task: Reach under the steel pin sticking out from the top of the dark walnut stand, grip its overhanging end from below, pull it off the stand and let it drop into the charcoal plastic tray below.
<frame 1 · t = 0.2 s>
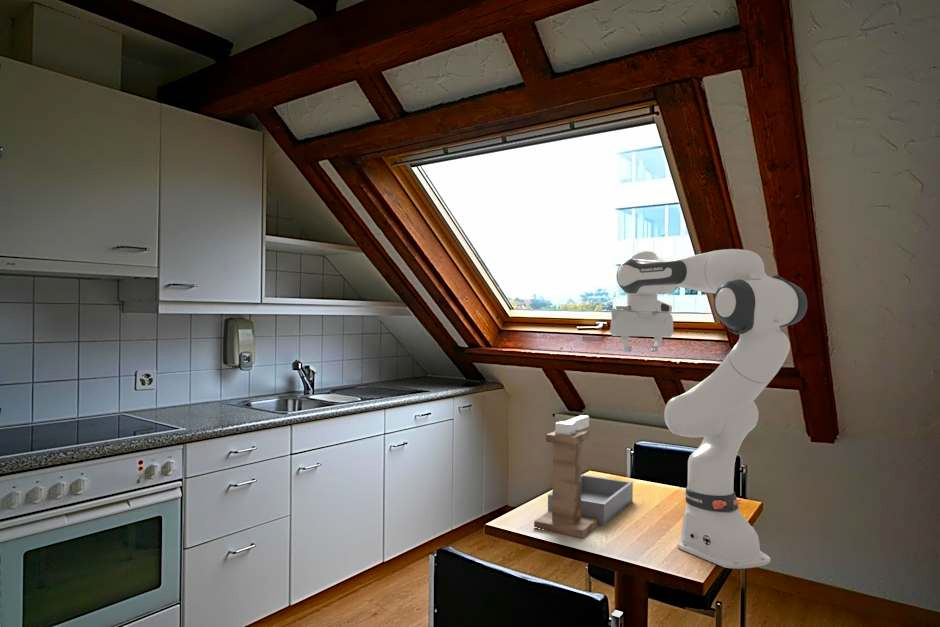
hand: (641, 351, 192), 48 cm above the table, tool pointing down, fingers open, 8 cm apart
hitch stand: (566, 526, 175), on the table
lynch pin: (575, 429, 180), point 26 cm above the table, touching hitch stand
parts tray: (591, 507, 193), on the table
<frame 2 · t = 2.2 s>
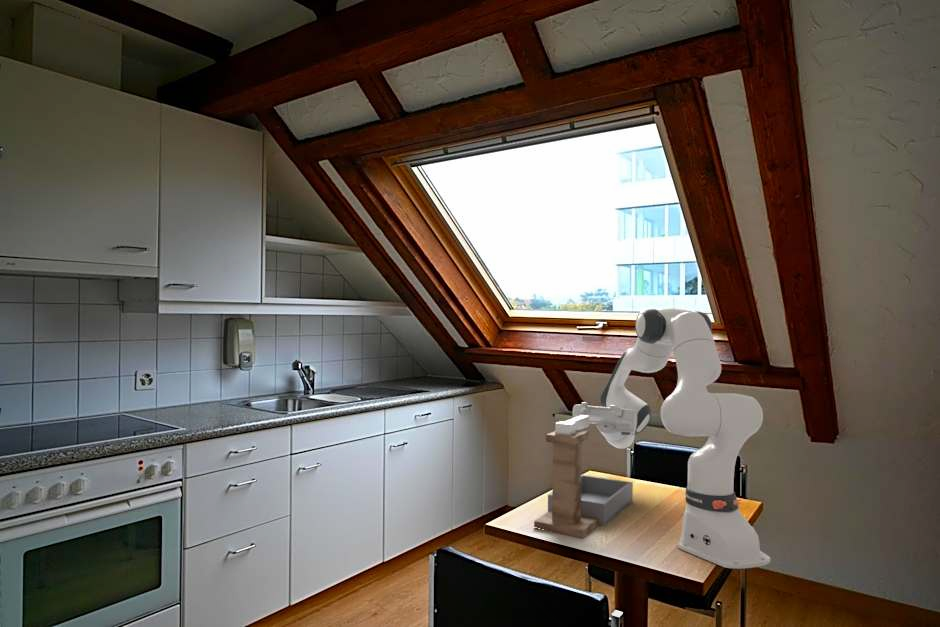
hand: (597, 405, 196), 30 cm above the table, tool pointing upward, fingers open, 8 cm apart
nothing on the table moved.
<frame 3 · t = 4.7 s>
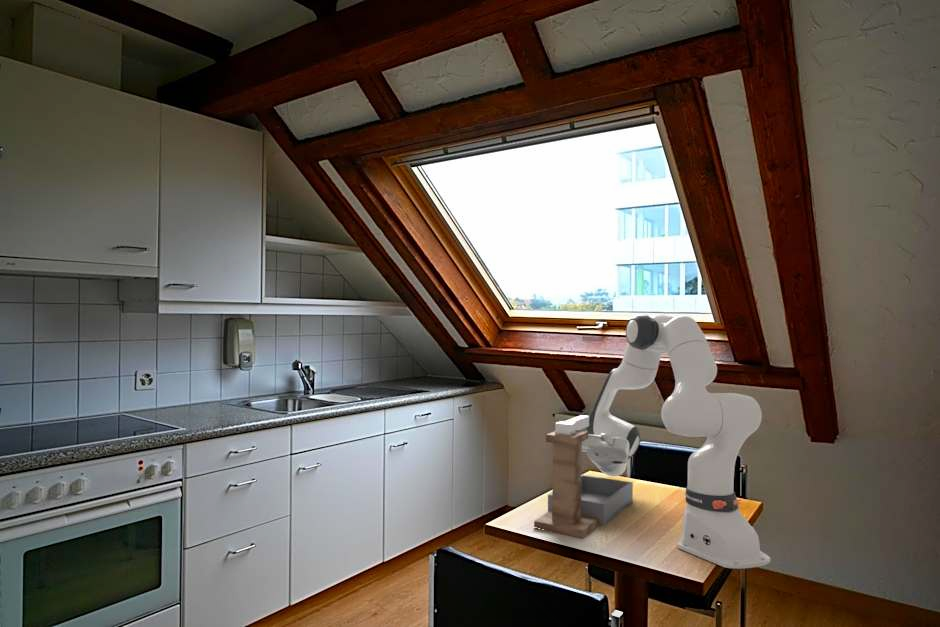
hand: (588, 434, 189), 23 cm above the table, tool pointing upward, fingers open, 8 cm apart
nothing on the table moved.
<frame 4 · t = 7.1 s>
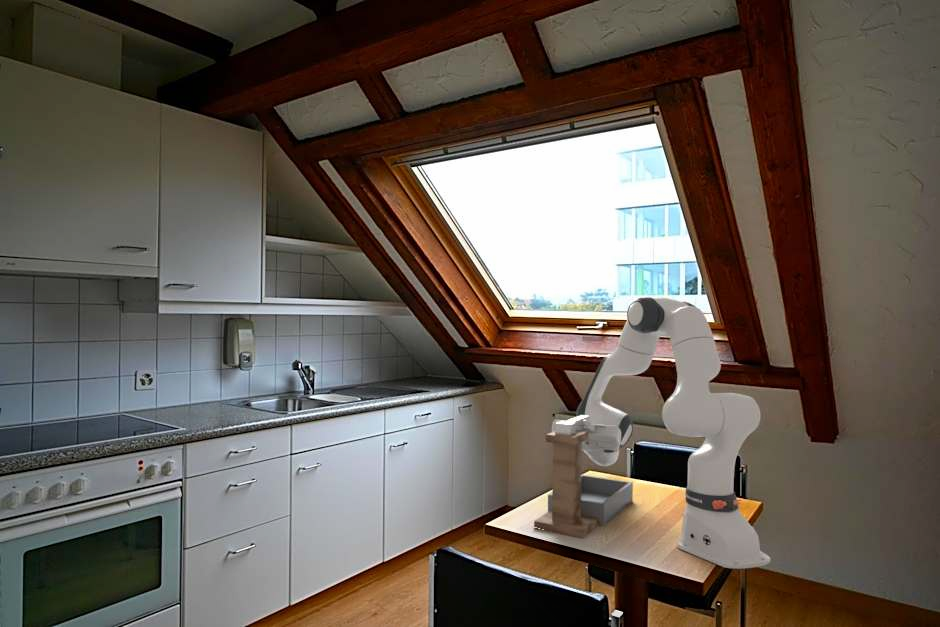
hand: (578, 421, 182), 28 cm above the table, tool pointing upward, fingers closed on lynch pin, 2 cm apart
lynch pin: (575, 429, 180), point 26 cm above the table, touching gripper, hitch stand
everything else where it was.
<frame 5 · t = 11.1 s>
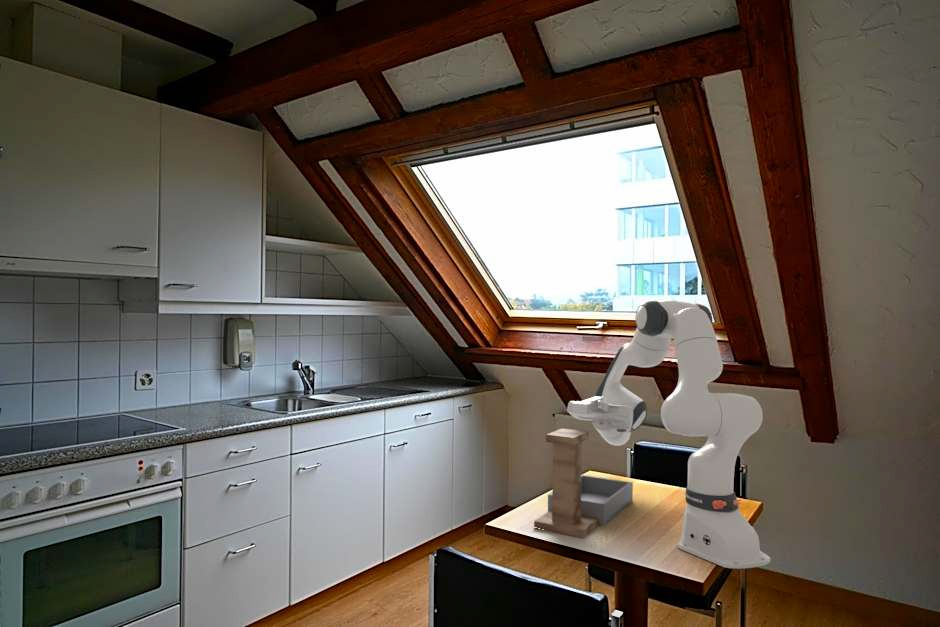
hand: (593, 402, 193), 32 cm above the table, tool pointing upward, fingers closed on lynch pin, 2 cm apart
lynch pin: (590, 409, 191), point 30 cm above the table, touching gripper
everything else where it was.
when the fingers open (19 cm above the table, at t = 14.9 s): lynch pin drops 16 cm, resting on parts tray.
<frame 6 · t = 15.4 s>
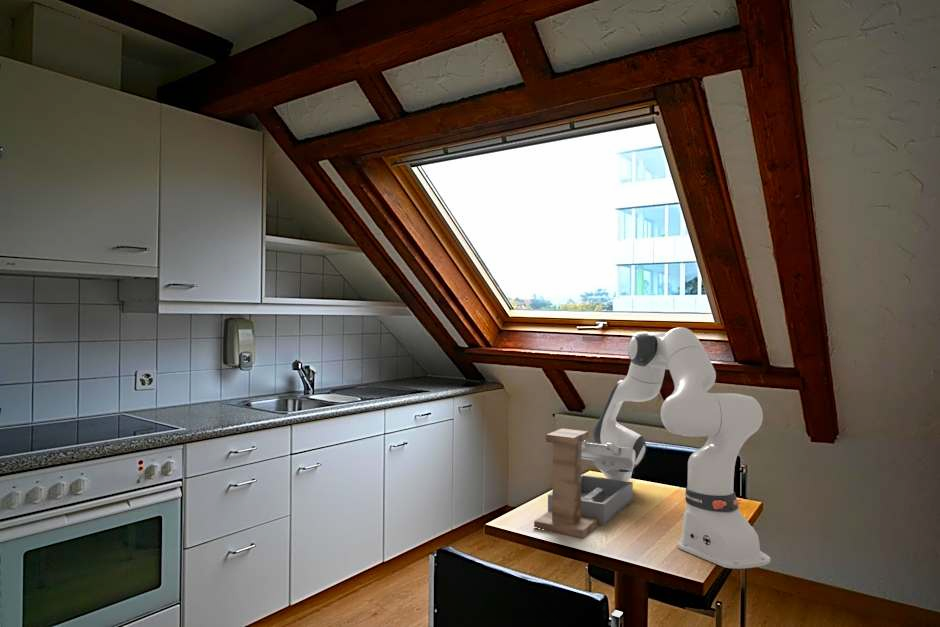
hand: (595, 444, 195), 19 cm above the table, tool pointing upward, fingers open, 7 cm apart
lynch pin: (592, 504, 193), point 1 cm above the table, touching parts tray
everything else where it was.
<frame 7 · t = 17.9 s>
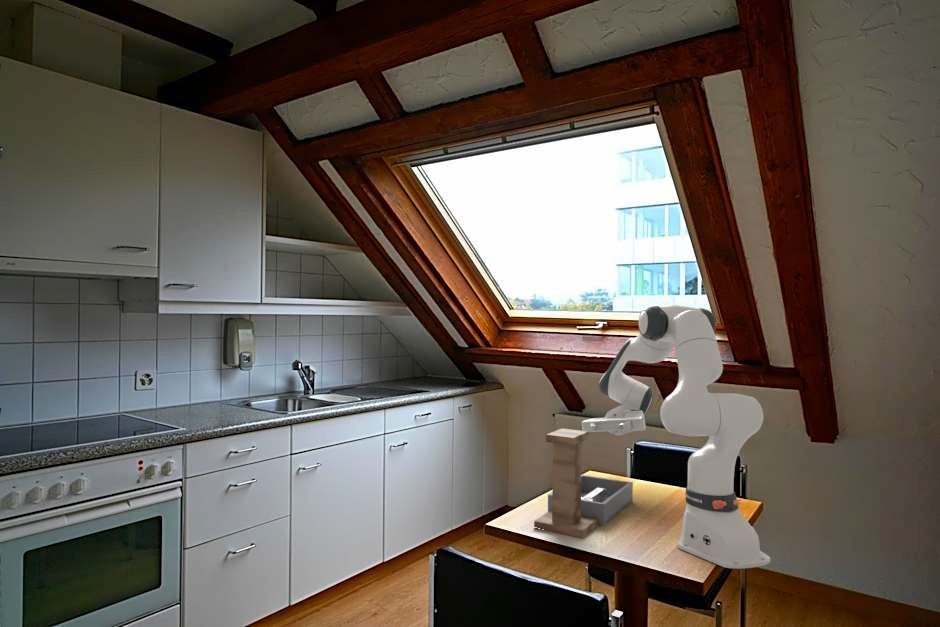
hand: (607, 427, 199), 23 cm above the table, tool horizontal, fingers open, 8 cm apart
nothing on the table moved.
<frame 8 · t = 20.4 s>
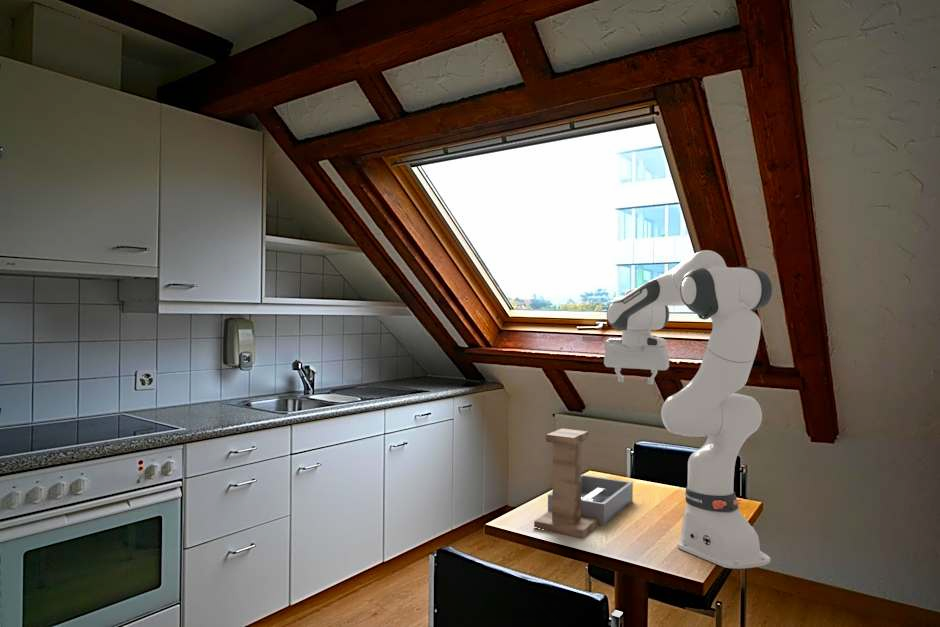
hand: (635, 382, 202), 37 cm above the table, tool pointing down, fingers open, 8 cm apart
nothing on the table moved.
at the end: lynch pin 0.7 cm from the parts tray (horizontally); lynch pin point 1.0 cm above the table; the gripper is holding nothing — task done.
